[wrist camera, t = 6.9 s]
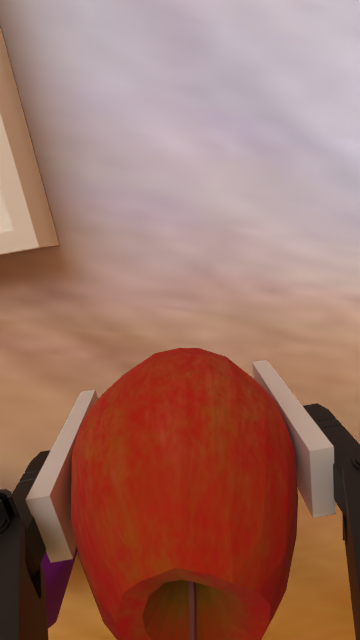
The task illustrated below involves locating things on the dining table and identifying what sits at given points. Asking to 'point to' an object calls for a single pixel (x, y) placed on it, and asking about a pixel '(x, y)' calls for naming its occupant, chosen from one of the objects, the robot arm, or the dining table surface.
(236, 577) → the apple
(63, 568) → the perfume bottle
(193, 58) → the dining table surface
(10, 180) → the beige square dish
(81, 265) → the dining table surface
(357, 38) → the dining table surface
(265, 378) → the robot arm
